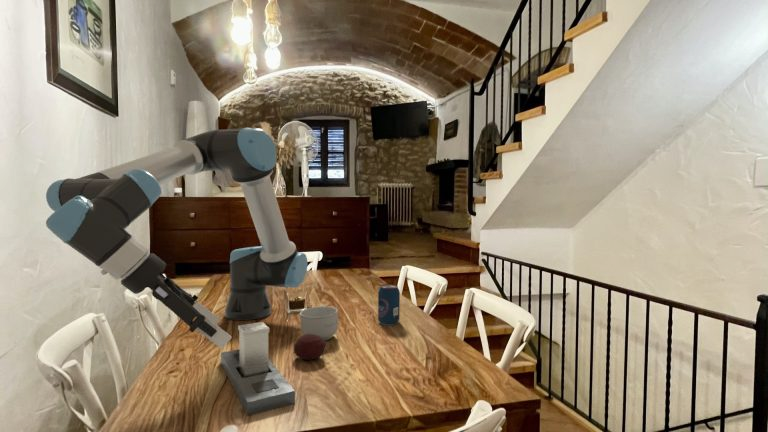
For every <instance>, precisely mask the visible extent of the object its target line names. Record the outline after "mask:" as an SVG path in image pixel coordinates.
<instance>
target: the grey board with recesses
mask: <svg viewBox="0 0 768 432" xmlns="http://www.w3.org/2000/svg"><path fill="white" fill-rule="evenodd" d="M220 363H221V366H222V368H223V370H224V372H225V373H226V376H227V378H228V379H229V381H230V384H231V386H232V387H233V390H234V392H235V393H236V396H237V397H238V399H239V402H240V404H241V405H242V408H243V409H244V411H245V413H246V415H247V416H251V415H256V414H259V413H263V412H267V411H271V410H274V409H278V408H282V407H287V406H289V405H295V403H296V391H295V389H294V388H293V386H291V384H290V382H289V381H287V379H286V378H285V377H284V376H283V374H282V373H281V372H280V371H279V369H278V368H277V367H276V365H275V364H274V363H273V362H272V361H271V360H270V358H269V357H268V373H265V374H261V375H256V376H251V377H247V378H241V376H240V362H239V348H238V349H235V350H234V349H233V350H229V351H221V352H220Z"/></svg>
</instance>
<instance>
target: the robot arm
mask: <svg viewBox="0 0 768 432" xmlns="http://www.w3.org/2000/svg"><path fill="white" fill-rule="evenodd" d="M277 155H278V153H277V147H276V143H275V141H274V140H273V138H272V137H271V135H270V134H269V133H268V132H267V131H265V130H264V129H262V128H254V127H244V128H241V127H240V128H228V129H213V130H208V131H205V132H202V133H199V134H196V135H193V136H190V137H187V138H185V139H181V140H179V141H177V142H176V143H175V144H174V145H173V147H170V148H167V149H164V150H161V151H158V152H155V153H151V154H148V155H146V156H141V157H140V158H139V157H138V158H136V159H133V160H130V161H127V162H124V163H121V164H119V165H115V166H112V167H109V168H107V169H102V170H100V171H97V172H94V173H90V174H88V175H84V176H81V177H77V178H68V177H67V178H65V179H59V180H56V181H53V182H52V183H51V184H50V185H49V186H48V188H47V190H46V193H45V199H46V202H47V205H48V207H49V208H50V209H51V210H52V211H53V213H52V214H51V215H50V216H49V217H48V218H47V219H46V221H45V226H46V227H47V228H48V229H49V230H50V232H52V233H53V234H54V236H56V237H57V238H58V239H60V240H61V241H62V242H63V243H64V244H66V245H68V246H69V247H71V248H72V249H74V250H75V251H77V252H78V253H79V254H81V255H82V256H83V257H85V258H86V259H88V260H89V261H90V262H92V263H93V264H94V265H95V266H96V267H98V268H99V269H102V270H101V271H100V273H101V275H102V276H105V275H107V274H109V276H110V277H112V278H113V279H114V280H120V285H122V286H123V287H124V288H126V289H127V290H128V291H130V292H132V294H134V295H138V294H140V293H142V292H144V291H145V289H147V288H149V289H150V290H151V291H152V292H151V296H153V297H154V298H155V299H156V300H158V301H159V302H161V303H162V304H163V305H164V306H165V307H167V308H168V309H169V310H170V311H171V312H172V313H174V315H176V316H177V317H178V318H179V319H180V320H182V321H183V322H184V323H185V324H186V325H188V326H189V329H188V331H190V332H191V333H194V332H195V330H196V331H197V332H198V333H200V334H201V335H203V336H204V337H205V338H206V339H208V340H209V341H210V342H212V344H215V345H216V346H217V347H219V349H223V348H224V347H225V346H226V345H227V343H228V342H229V341H230V340H231V339H232V338H233V337H232V335H230V334H229V333H228V332H226V331H225V330H224V329H222V327H220V326H219V325H217V323H218V322H220V320H221V319H220V318H219V317H218V316H217V315H216V314H215V313H213V312H212V311H210V310H209V309H208V308H207V307H206V306H204V305H203V304H202V303H201V302H199V301H198V299H199V297H198V296H197V294H194V295H193V296H192V294H191V293H189V292H187V291H185V290H184V289H183V288H181V287H180V286H179V284H177V283H175V281H174V280H173V279H171V278H170V277H166V276H165V275H164V274H163V272H164V271H165V269H166V267H167V263H166V262H165V261H164V260H162V259H161V258H160V257H159V256H157V255H156V254H155V253H154V252H152V253H151V252H150V253H149V248H148V247H147V246H146V245H145V244H143V243H142V242H140V240H138V239H137V238H136V237H135V236H133V235H131V234H130V233H129V232H128V231H127V230H126V228H128V227H129V226H130V225H131V224H132V223H134V222H135V220H137V219H138V218H139V217H140V216H142V214H144V213H145V212H146V211H147V210H149V209H150V208H151V207H152V206H153V204H154V203H155V202H156V201H157V200H158V199H159V198H160V197H161V194H162V187H161V185H164V184H165V183H168V182H170V181H173V180H175V179H178V178H179V177H182V176H184V175H189V176H190V175H192V176H193V175H196V174H199V173H203V172H210V171H214V172H215V171H224V172H226V171H229V172H230V176H231V178H232V180H233V182H234V183H236V184H239V185H240V187H241V191H242V194H243V195H244V199H245V202H246V205H247V207H248V210H249V213H250V216H251V219H252V222H253V225H254V227H255V230H256V233H257V237H258V239H259V242H260V246H258V245H257V246H249V247H243V248H238V249H237V248H236V249H234V250H232V251H231V252H230V254H229V255H230V258H229V285H230V286H229V287H230V293H229V296H228V299H227V302H226V305H225V307H224V308H225V309H224V317H225V318H226V319H228V320H232V321H233V320H234V321H249V320H250V321H251V320H258V319H263V318H264V317H267V316H269V315H271V314H272V305H271V302H270V299H269V296H268V293H267V286H268V287H277V288H278V287H279V288H286V289H288V288H297V287H299V286H300V285H301V284H302V283H303V281H304V280H305V277H306V275H307V271H308V258H307V255H306V254H305V252H301V251H300V252H299V251H298V249H297V247H296V244H295V243H294V241H291V240H290V238H289V236H288V233H287V229H286V226H285V222H284V219H283V216H282V213H281V209H280V205H279V203H278V199H277V196H276V194H275V189H274V186H273V183H272V180H271V176H272V174H273V172H274V169H273V168H274V167H275V165H276V163H277V159H278V158H277Z"/></svg>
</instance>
